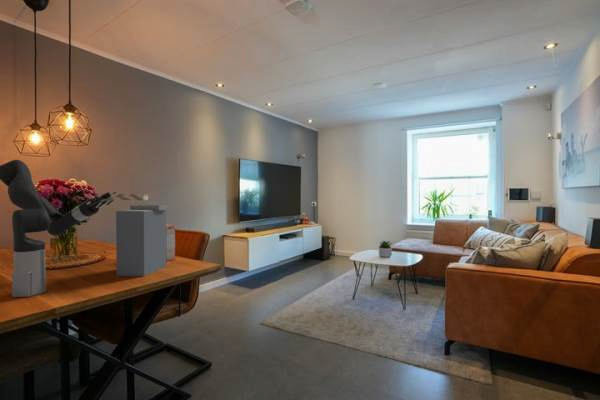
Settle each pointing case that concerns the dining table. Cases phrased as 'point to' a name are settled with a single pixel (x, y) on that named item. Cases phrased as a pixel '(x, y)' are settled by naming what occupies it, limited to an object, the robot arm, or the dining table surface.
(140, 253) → the chute stand
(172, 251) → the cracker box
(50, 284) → the dining table surface
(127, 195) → the striped beige bar
